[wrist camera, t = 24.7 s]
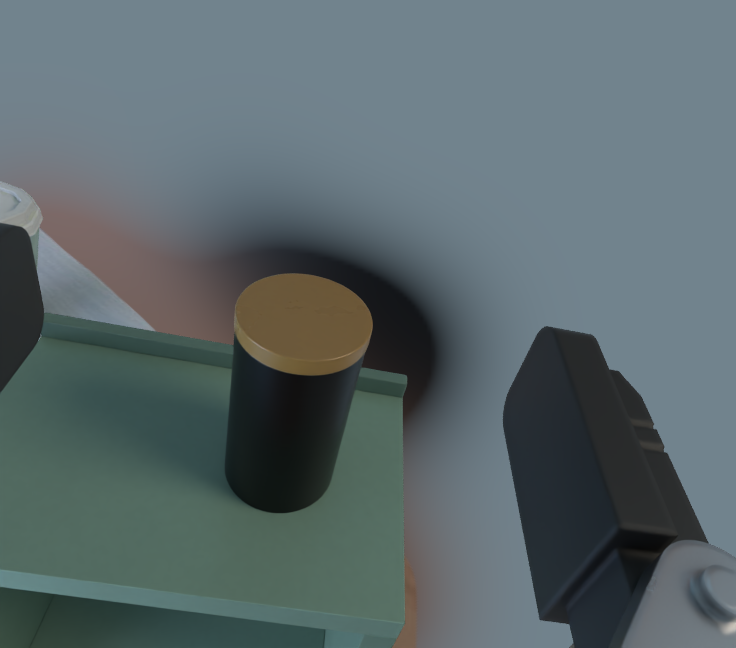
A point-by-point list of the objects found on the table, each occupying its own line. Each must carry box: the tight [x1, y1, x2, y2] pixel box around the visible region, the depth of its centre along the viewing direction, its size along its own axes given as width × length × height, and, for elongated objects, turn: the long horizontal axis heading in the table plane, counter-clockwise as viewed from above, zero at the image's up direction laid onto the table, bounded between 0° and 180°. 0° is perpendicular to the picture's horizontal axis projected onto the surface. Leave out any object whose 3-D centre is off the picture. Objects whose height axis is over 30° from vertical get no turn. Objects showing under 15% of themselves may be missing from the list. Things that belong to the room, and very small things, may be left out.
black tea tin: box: [225, 274, 373, 513], centre depth 26 cm, size 6×6×10 cm
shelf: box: [0, 313, 407, 648], centre depth 35 cm, size 21×14×21 cm, turn 88°
